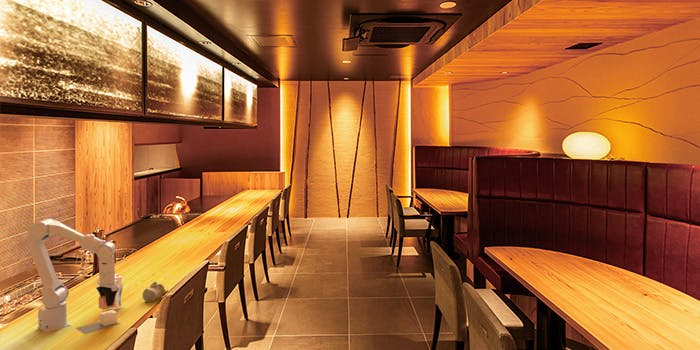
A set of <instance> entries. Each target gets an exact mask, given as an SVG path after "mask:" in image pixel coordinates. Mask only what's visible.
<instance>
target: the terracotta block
mask: <svg viewBox="0 0 700 350" xmlns="http://www.w3.org/2000/svg"><path fill="white" fill-rule="evenodd" d="M112 307H116V299H114V303H113V305H112V306H107V303H106V297H105V296H100V295H99V296H98V308H99V309H101V310H103V311H104V310H108V308H112Z"/></svg>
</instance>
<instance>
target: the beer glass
mask: <svg viewBox="0 0 700 350" xmlns="http://www.w3.org/2000/svg"><path fill="white" fill-rule="evenodd" d="M115 280H117V281H118V283H116V285H117V286H118V289H119V290H118V292H117V294H116V296H115V299H116V307H112V308H108V309H107V311H110V310H114V311H116V310H119V309H122V308H123V305H122V294H123V289H124V280H123V274H121V273H115Z"/></svg>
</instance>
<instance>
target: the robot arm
mask: <svg viewBox="0 0 700 350" xmlns="http://www.w3.org/2000/svg"><path fill="white" fill-rule="evenodd" d="M27 231H28V236H27V237H28V238H27V242H26V245H27V248H28V251H29V253H30V256H31V259H32V260H33V264H34V265H35V269H36V270H37V271H36V272H37V274H38V276H39V278H40V281H41V283H42V289H41V296H42V298H41V301H42V305H44V307H42V308H39V309H38V313H37V319H38V320H37V321H38V322H37V323H38V326H37V328H38V329H39V330H41V331H43V332H44V333H47V332H51V331H55V330H58V329H59V330H60V329H62V328H66V327H70V326H71V324H70V323H69V322H68V320H67V319H68V316H67V301H66V300H67V298H68V297H69V294H70V293H69V292H70V291H69V289H68V288H67V287H66V286H65V285H64V283H63V282H62V280H59V279H58V276H57V274H56V271H55V268H54V265H53V263H52V260H51V259H50V258H51V257H50V255H49V253H48V250H47V248H46V245H45V243H46V242H47V240H49V238H50V237H51V236H61V237H64V238H67V239H69V240H72V241H74V242H76V243H78V244H79V246H80V248H83V249H85V250H87V251H89V252H92V253H94V254H96V256H97V258H98V270H99V271H98V273H99V277H98V279H97V285H98V286H97V287H96V290H97V292H98V294H99V297H100V296H105V297H106V303H107V306H112V305H113V303H114V299H115V296H116V294H117V292H118V290H119V289H118V286H117V285H116V283H118V281H117V280H115V274H116V264H115V261H116V260H115V253H116V251H117V246H116V244H115V243H113V242H112V241H107V240H105V239H100V238H98V237H96V234H94V233H91V234H89V233H88V234H82V233H81V232H78V231H77V230H75V229H73V228H71V227H69V226H67V225H65V224H64V223H62V222H61V221H58V220H55V219H53V218H49V217H48V218H45V219H43V220H39V221H36V222H33V223H32V225H31V226H30V227H29V228H28V230H27Z"/></svg>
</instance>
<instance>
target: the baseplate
mask: <svg viewBox="0 0 700 350" xmlns="http://www.w3.org/2000/svg"><path fill="white" fill-rule="evenodd" d="M119 325H121V323H120V322H118V321H117V323H114V324H110V325H107V326H103V325H102V324H100V321H96V322H93V323H90V324H86V325H82V326H78V327H76V328H75V329H76V330H78V331H79V332H80V333H82V334H84V335H86V334H91V333H94V332H99V331H101V330H104V329H108V328H111V327H115V326H119Z"/></svg>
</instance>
